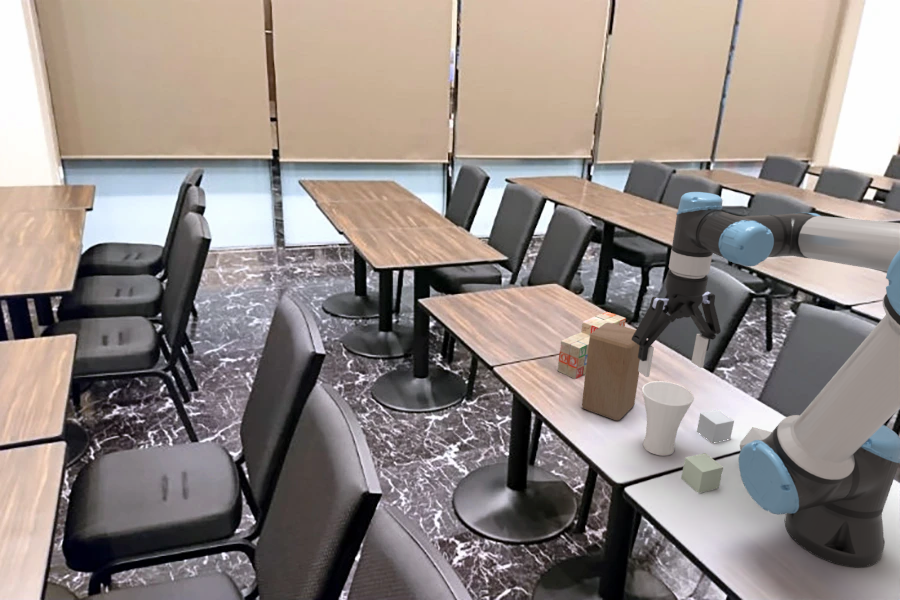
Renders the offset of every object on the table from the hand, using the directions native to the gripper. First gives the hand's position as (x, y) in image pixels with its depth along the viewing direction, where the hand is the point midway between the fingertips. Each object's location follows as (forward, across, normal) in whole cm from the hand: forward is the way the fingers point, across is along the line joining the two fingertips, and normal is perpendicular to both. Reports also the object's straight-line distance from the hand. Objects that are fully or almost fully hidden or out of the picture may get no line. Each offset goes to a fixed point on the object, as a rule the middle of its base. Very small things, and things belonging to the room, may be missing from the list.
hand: (670, 369), depth 131 cm
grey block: (+19, -16, +12) cm, 28 cm away
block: (+19, +1, -18) cm, 26 cm away
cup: (+19, 0, 0) cm, 19 cm away
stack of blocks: (+20, -8, -39) cm, 45 cm away
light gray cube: (+19, -15, 0) cm, 24 cm away
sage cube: (+19, 0, +14) cm, 23 cm away
